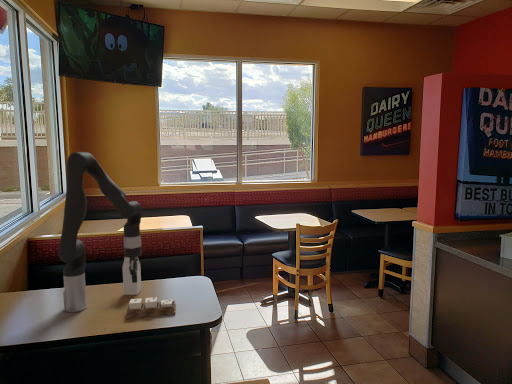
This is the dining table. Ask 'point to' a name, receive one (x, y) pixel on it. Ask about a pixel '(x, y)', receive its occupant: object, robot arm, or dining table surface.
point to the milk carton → (127, 279)
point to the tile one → (135, 304)
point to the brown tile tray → (151, 311)
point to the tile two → (151, 302)
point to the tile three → (166, 303)
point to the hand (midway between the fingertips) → (134, 282)
